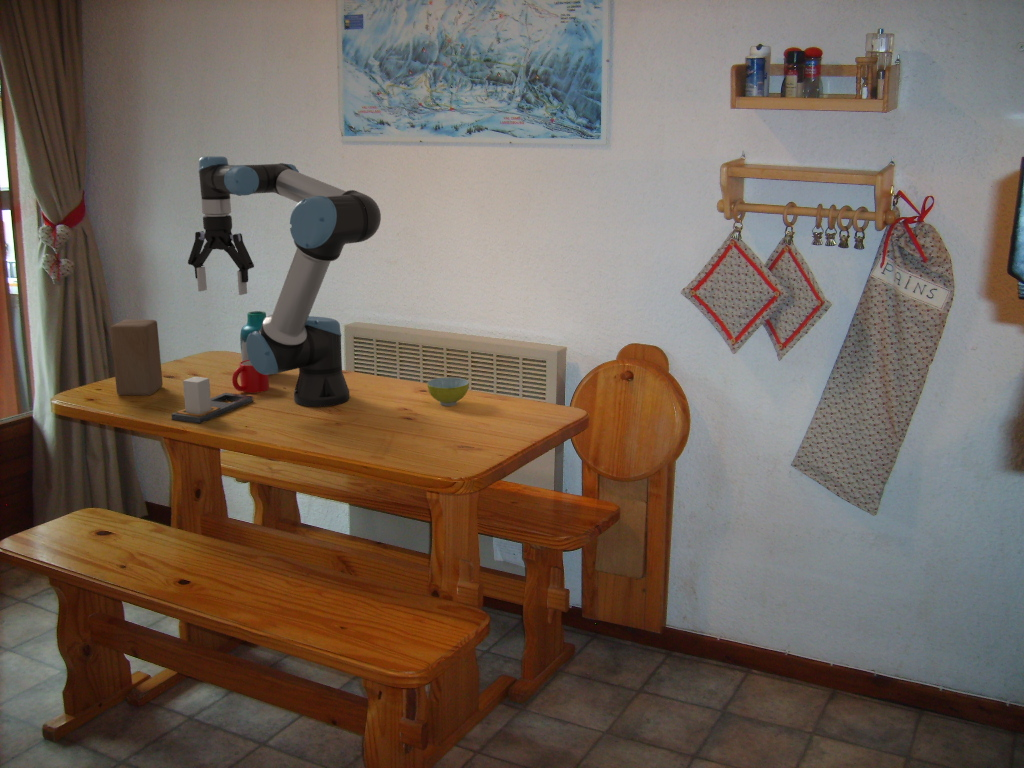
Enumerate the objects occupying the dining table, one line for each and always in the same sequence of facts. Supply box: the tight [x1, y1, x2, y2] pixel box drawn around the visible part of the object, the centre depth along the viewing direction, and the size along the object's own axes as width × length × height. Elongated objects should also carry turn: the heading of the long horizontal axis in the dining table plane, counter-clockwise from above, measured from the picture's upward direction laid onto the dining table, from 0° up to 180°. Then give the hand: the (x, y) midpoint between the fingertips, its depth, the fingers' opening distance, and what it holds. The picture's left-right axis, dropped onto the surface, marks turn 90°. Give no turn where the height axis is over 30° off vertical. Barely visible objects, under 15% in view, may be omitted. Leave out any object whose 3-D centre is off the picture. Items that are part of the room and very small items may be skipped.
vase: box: [239, 310, 267, 362], centre depth 293 cm, size 11×11×19 cm
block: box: [109, 318, 163, 396], centre depth 274 cm, size 10×10×20 cm
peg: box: [182, 376, 212, 415], centre depth 253 cm, size 5×5×10 cm
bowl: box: [426, 377, 470, 407], centre depth 266 cm, size 11×12×6 cm
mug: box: [231, 360, 270, 393], centre depth 278 cm, size 8×12×8 cm, turn 150°
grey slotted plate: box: [171, 392, 254, 424], centre depth 259 cm, size 9×22×2 cm, turn 158°
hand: (222, 292), depth 269 cm, fingers open, 13 cm apart
